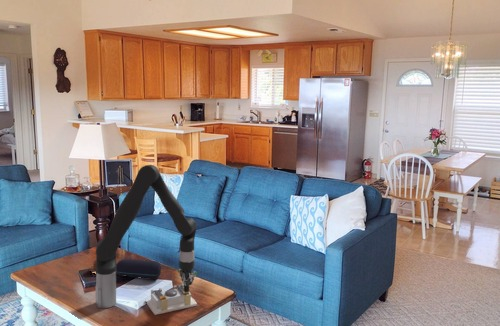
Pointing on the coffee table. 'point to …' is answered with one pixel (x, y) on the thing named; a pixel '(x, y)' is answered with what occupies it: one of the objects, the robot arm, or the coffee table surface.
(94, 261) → the cup and saucer
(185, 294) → the strap far
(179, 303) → the base
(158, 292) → the strap near
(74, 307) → the coffee table surface
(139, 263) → the portable speaker
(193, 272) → the mechanical component
